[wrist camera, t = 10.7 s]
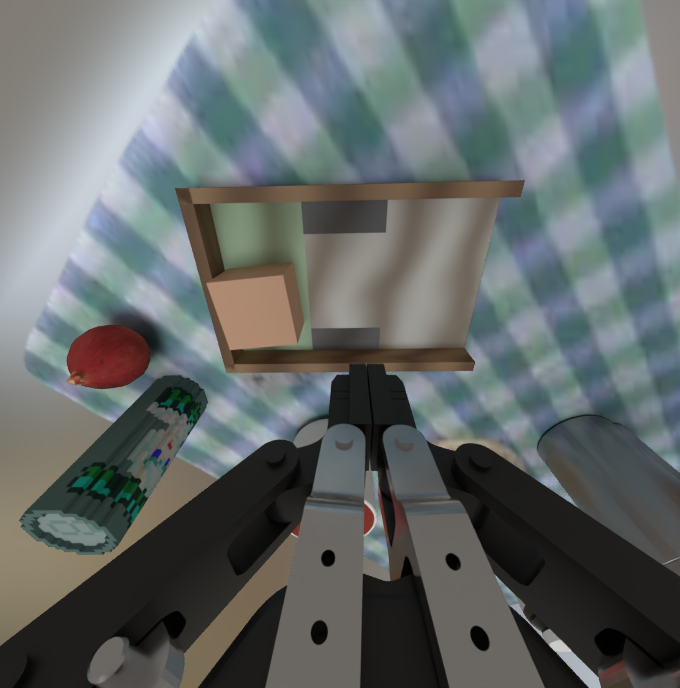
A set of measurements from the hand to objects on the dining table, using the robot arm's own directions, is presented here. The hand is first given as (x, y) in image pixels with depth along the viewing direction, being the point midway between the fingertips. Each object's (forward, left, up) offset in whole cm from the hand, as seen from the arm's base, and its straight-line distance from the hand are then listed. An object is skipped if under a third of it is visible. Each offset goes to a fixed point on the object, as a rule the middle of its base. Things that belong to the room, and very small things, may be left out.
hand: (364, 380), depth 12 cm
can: (+21, +14, -15) cm, 29 cm away
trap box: (0, 0, -15) cm, 15 cm away
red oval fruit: (+23, +6, -16) cm, 28 cm away
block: (+8, +1, -15) cm, 17 cm away
